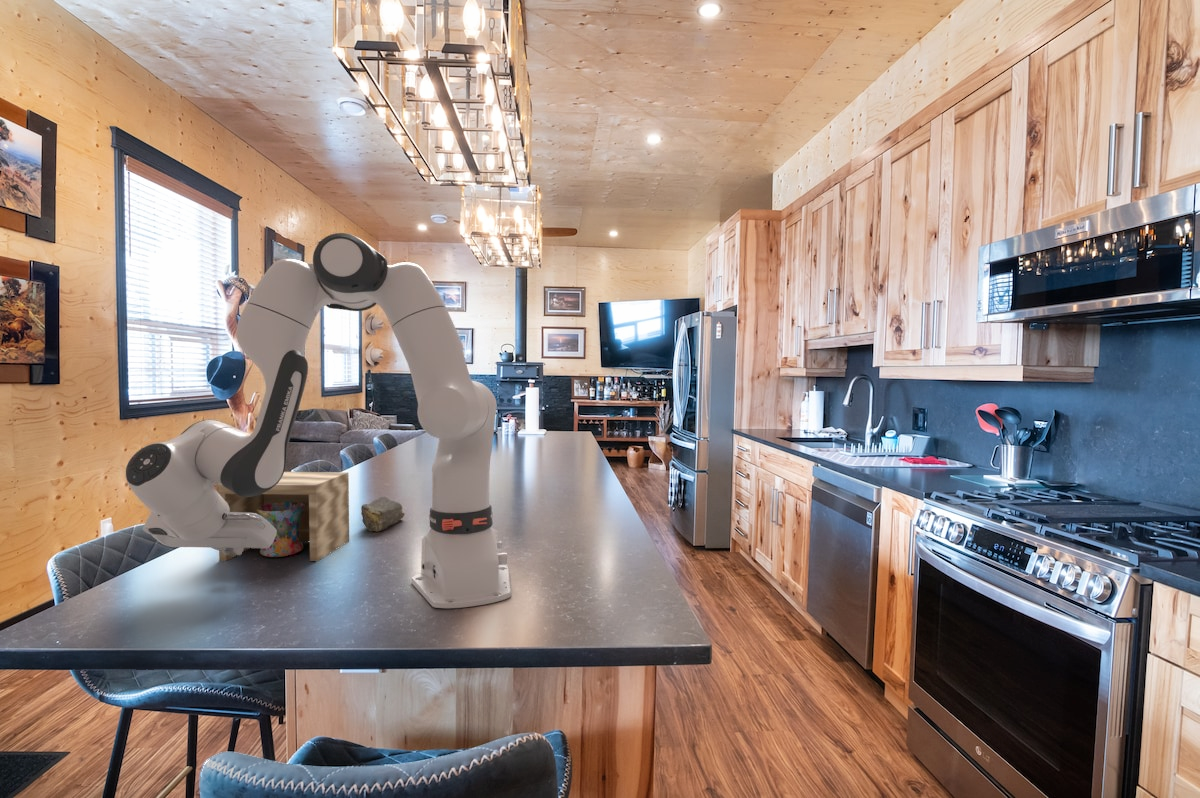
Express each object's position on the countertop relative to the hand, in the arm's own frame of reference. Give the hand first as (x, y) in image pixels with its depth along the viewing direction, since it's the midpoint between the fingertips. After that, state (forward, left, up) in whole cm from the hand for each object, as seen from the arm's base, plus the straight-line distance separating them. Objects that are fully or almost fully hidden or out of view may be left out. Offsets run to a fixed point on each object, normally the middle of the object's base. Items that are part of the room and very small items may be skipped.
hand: (235, 551), depth 113 cm
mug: (+16, -7, -6) cm, 18 cm away
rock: (+32, -28, -6) cm, 43 cm away
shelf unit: (+16, -7, -5) cm, 18 cm away
